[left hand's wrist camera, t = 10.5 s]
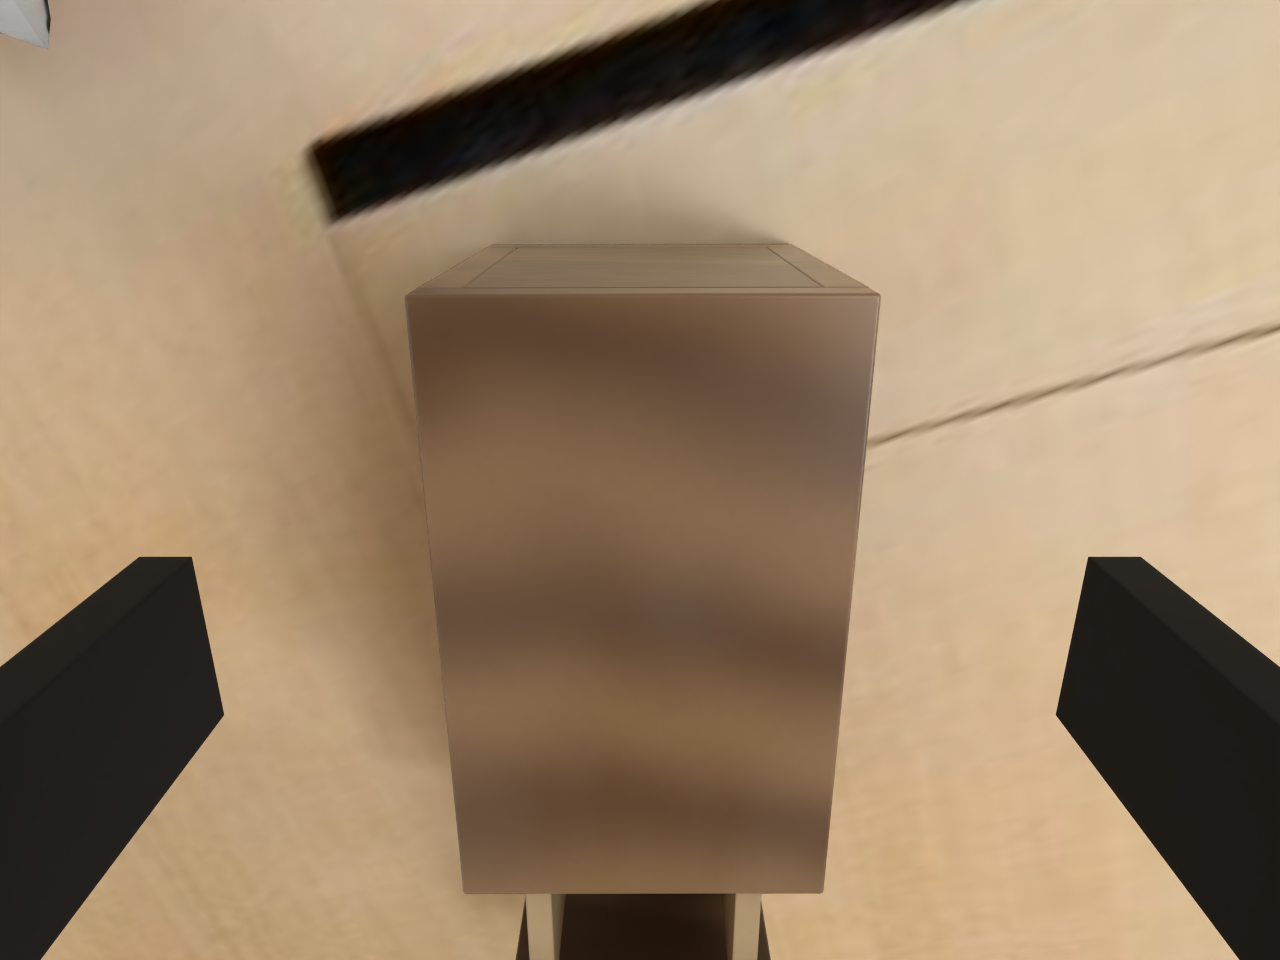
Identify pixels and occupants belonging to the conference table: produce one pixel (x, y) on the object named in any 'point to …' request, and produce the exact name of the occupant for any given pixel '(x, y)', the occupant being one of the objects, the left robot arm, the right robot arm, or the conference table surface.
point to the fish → (26, 20)
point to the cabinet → (643, 557)
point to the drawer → (643, 927)
